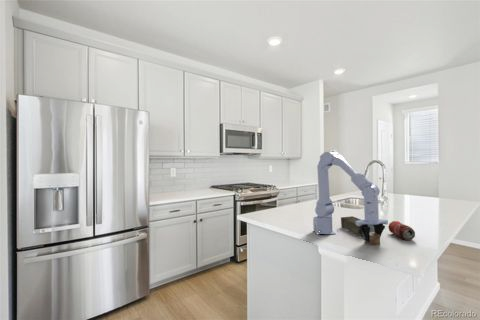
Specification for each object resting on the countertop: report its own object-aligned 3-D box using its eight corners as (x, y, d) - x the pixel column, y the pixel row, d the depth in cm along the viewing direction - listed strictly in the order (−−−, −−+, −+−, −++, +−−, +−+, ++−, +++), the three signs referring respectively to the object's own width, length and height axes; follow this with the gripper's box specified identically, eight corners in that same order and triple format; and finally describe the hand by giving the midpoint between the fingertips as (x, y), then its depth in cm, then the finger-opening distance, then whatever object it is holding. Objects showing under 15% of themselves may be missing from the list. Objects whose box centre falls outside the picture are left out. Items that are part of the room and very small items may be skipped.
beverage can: (402, 241, 110) (401, 227, 110) (388, 233, 122) (387, 221, 122) (418, 241, 110) (417, 227, 110) (402, 233, 122) (402, 220, 122)
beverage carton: (362, 238, 117) (361, 224, 117) (340, 227, 136) (340, 216, 136) (376, 236, 118) (376, 223, 118) (353, 226, 137) (352, 215, 137)
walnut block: (370, 245, 106) (370, 235, 106) (364, 242, 111) (364, 232, 111) (380, 244, 107) (379, 234, 107) (373, 241, 111) (373, 232, 111)
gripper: (361, 213, 104) (362, 244, 104) (392, 212, 105) (393, 242, 105) (352, 210, 111) (353, 239, 111) (381, 209, 113) (382, 237, 112)
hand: (372, 240), depth 109 cm, fingers closed on walnut block, 4 cm apart
